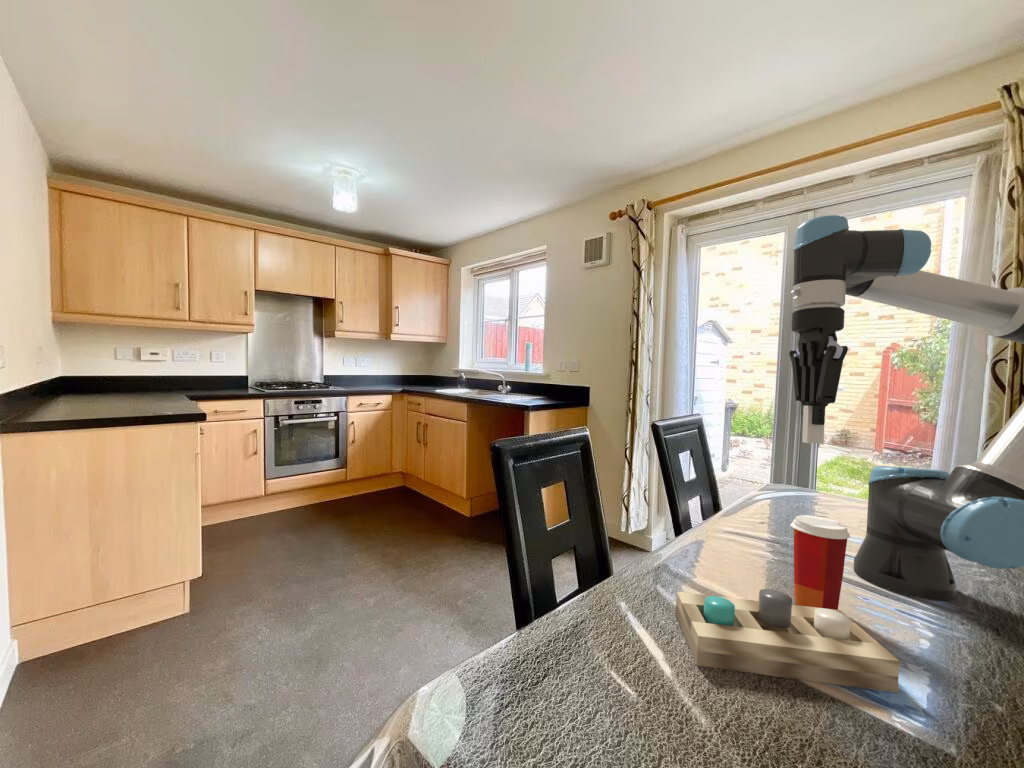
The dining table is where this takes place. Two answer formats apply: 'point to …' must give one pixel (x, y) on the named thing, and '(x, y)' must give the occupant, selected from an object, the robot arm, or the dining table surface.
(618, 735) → the dining table surface
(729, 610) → the teal button
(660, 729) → the dining table surface
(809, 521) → the coffee cup
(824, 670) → the wooden button tray
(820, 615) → the white rounded cylinder
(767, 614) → the gray button
